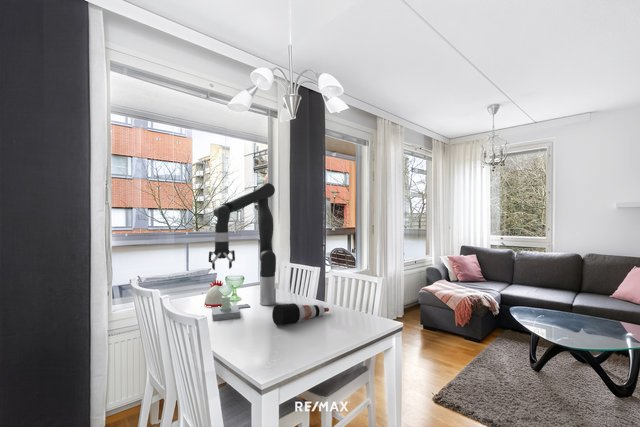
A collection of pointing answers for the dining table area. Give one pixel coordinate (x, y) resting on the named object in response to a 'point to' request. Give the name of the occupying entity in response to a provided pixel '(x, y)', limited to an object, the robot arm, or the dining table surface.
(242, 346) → the dining table surface
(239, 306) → the panel
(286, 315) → the bottle
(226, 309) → the block
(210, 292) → the kitchen timer
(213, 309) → the plate
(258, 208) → the robot arm
